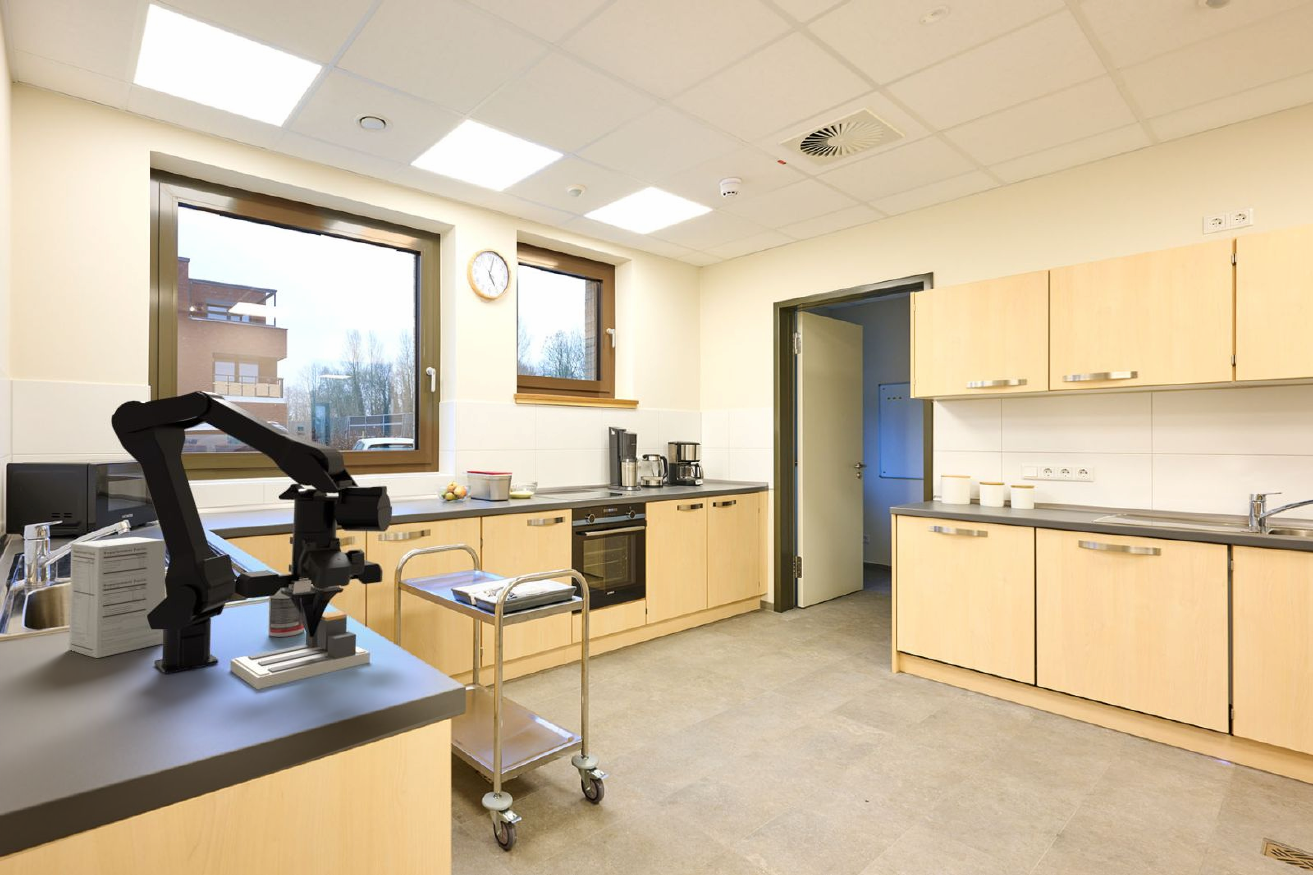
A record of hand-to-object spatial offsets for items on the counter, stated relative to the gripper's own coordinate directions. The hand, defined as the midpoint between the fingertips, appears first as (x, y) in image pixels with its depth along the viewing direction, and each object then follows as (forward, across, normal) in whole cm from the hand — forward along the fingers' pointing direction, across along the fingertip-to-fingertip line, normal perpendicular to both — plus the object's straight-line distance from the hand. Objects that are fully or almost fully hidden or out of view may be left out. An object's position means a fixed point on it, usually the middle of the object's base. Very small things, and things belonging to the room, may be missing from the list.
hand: (310, 636), depth 96 cm
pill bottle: (+4, +4, +20) cm, 21 cm away
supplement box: (+4, -17, +31) cm, 36 cm away
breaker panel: (+4, -1, 0) cm, 4 cm away
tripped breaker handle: (+2, +3, 0) cm, 4 cm away
